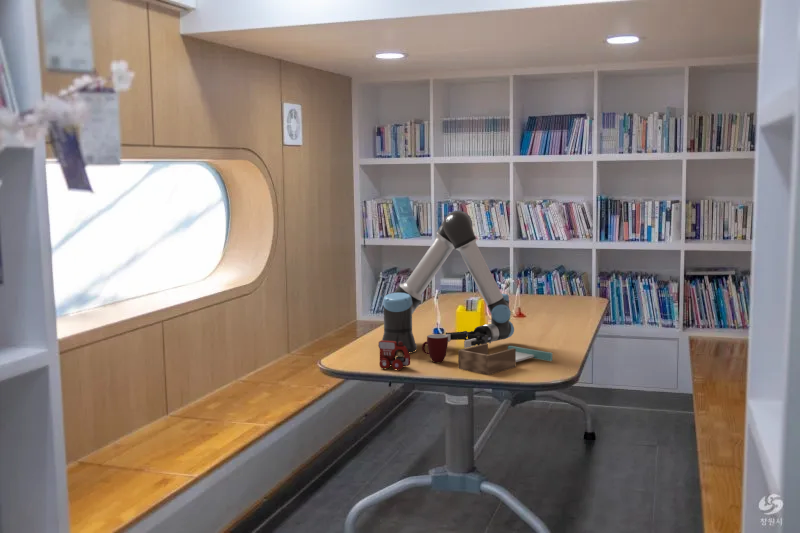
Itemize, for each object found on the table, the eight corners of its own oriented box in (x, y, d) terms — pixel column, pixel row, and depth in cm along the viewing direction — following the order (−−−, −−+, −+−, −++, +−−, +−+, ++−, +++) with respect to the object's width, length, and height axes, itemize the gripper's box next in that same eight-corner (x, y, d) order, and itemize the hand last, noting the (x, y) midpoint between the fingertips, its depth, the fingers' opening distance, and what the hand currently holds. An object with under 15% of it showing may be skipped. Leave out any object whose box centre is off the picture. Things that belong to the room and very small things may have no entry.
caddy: (458, 368, 298) (458, 350, 297) (485, 361, 309) (485, 343, 308) (488, 374, 287) (488, 355, 287) (515, 367, 299) (515, 348, 298)
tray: (484, 359, 308) (484, 352, 308) (509, 352, 319) (509, 345, 319) (527, 367, 294) (527, 359, 294) (552, 360, 305) (552, 352, 305)
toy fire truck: (406, 371, 295) (405, 343, 294) (375, 369, 299) (375, 341, 298) (413, 367, 301) (412, 340, 300) (382, 365, 306) (382, 338, 305)
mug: (418, 362, 308) (418, 337, 307) (424, 358, 316) (424, 333, 314) (444, 364, 305) (444, 338, 303) (450, 359, 312) (450, 334, 311)
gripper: (509, 347, 323) (476, 355, 308) (462, 339, 341) (428, 347, 326) (509, 328, 322) (476, 336, 307) (462, 321, 340) (428, 328, 325)
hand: (451, 342), depth 316 cm, fingers open, 13 cm apart
